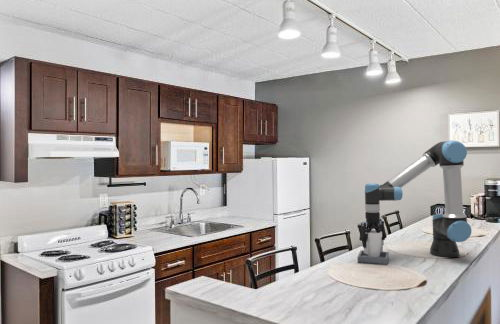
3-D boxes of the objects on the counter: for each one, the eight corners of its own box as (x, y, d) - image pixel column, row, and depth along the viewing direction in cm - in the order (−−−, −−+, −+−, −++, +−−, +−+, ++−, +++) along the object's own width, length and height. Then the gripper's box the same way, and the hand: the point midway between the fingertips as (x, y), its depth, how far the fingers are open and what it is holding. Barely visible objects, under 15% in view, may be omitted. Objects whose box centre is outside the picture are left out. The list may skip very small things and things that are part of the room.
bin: (388, 258, 216) (388, 252, 216) (387, 265, 202) (387, 258, 202) (360, 256, 221) (360, 250, 221) (357, 263, 207) (357, 256, 207)
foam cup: (383, 257, 206) (383, 233, 206) (365, 257, 208) (365, 233, 208) (381, 253, 215) (380, 230, 215) (364, 253, 217) (363, 230, 217)
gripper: (383, 209, 219) (384, 248, 219) (351, 212, 211) (352, 253, 211) (393, 210, 212) (394, 251, 212) (360, 214, 204) (361, 256, 204)
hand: (373, 252), depth 212 cm, fingers closed on foam cup, 9 cm apart
